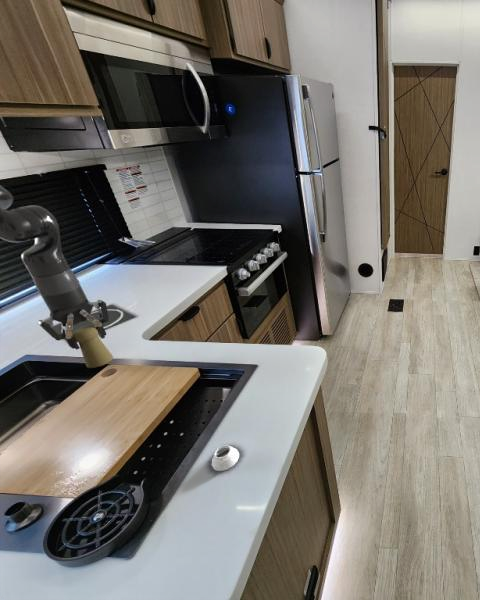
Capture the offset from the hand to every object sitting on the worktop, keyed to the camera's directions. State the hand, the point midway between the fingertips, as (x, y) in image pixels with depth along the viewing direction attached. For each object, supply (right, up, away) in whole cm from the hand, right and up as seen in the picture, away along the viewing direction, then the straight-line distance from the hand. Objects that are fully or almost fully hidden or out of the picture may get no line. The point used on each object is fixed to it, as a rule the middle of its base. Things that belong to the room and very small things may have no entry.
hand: (89, 342), depth 91 cm
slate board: (-21, +4, +24) cm, 33 cm away
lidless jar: (+50, -22, -23) cm, 59 cm away
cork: (0, -6, +3) cm, 7 cm away
